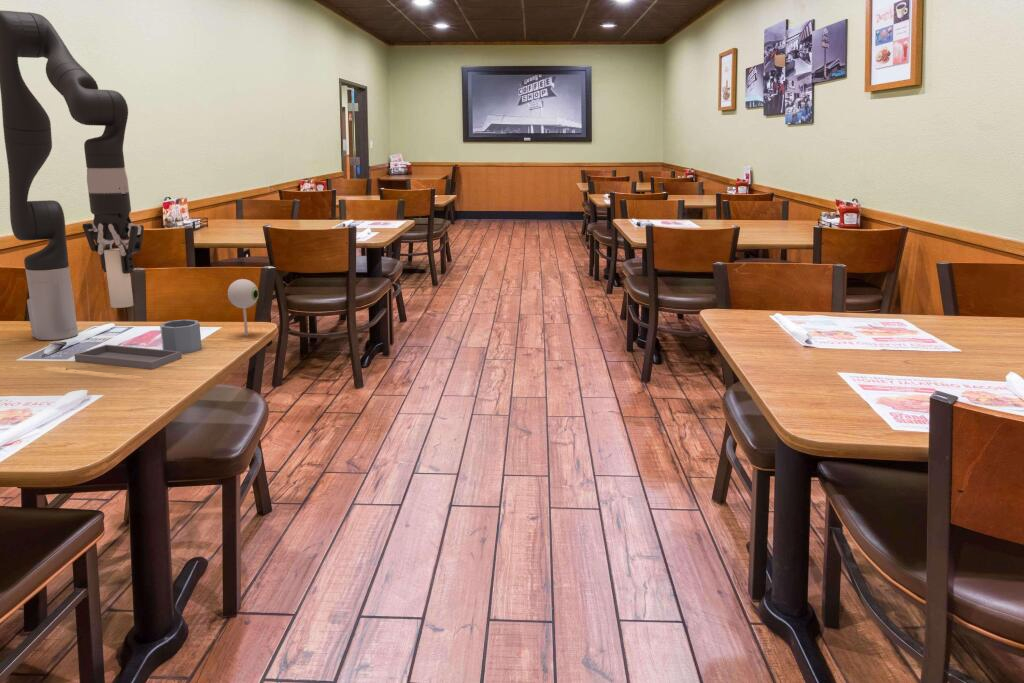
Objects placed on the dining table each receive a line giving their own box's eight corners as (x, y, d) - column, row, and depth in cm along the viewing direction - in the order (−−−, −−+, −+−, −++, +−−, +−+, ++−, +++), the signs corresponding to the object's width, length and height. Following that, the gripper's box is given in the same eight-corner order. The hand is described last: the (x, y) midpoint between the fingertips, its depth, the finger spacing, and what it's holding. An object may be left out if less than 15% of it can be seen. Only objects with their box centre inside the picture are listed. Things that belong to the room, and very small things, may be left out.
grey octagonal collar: (155, 356, 175) (152, 326, 174) (179, 347, 183) (176, 318, 181) (185, 359, 173) (182, 328, 171) (208, 350, 181) (206, 321, 179)
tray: (75, 365, 167) (74, 354, 167) (107, 355, 176) (106, 344, 175) (153, 373, 162) (151, 362, 162) (182, 362, 171) (180, 351, 170)
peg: (105, 307, 164) (98, 250, 161) (121, 303, 168) (114, 248, 165) (123, 308, 163) (116, 251, 160) (138, 304, 167) (131, 249, 164)
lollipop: (252, 343, 187) (247, 282, 183) (225, 341, 189) (220, 281, 185) (267, 336, 194) (262, 277, 190) (241, 334, 195) (236, 276, 192)
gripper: (66, 190, 158) (77, 273, 162) (123, 192, 154) (133, 277, 159) (94, 188, 165) (104, 268, 169) (150, 190, 161) (159, 271, 166)
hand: (118, 272), depth 164 cm, fingers closed on peg, 4 cm apart
